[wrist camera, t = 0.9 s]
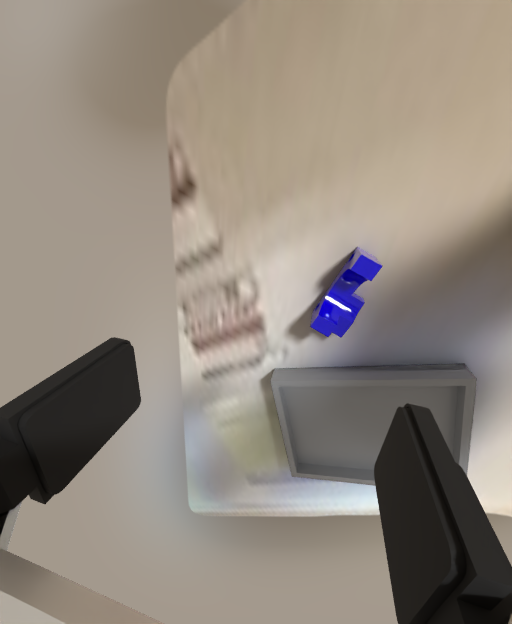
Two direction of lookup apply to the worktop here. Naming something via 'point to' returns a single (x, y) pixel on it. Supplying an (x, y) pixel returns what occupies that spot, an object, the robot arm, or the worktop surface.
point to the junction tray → (365, 414)
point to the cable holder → (344, 295)
